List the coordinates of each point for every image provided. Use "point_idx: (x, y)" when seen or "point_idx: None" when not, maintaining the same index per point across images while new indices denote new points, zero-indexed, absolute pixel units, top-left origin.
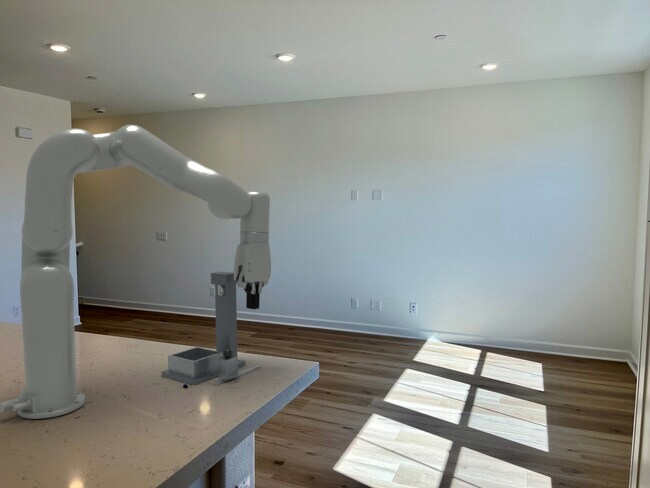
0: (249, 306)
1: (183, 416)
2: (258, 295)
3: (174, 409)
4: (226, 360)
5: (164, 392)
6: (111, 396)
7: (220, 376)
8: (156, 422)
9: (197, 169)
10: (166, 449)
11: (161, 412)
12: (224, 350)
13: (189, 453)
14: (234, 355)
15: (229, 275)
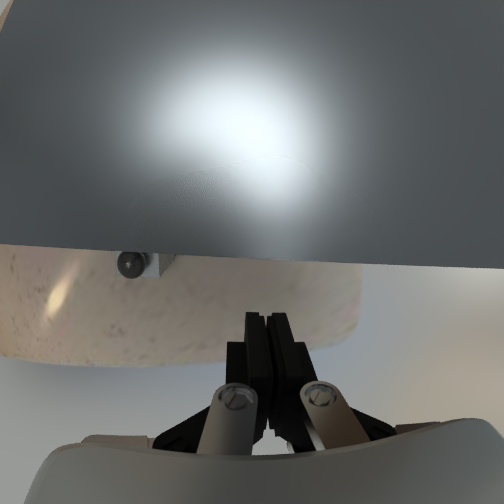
0: (245, 339)
1: (28, 291)
2: (274, 428)
3: (28, 262)
4: (117, 274)
5: None
6: None
7: None
8: (6, 273)
9: None
10: (2, 328)
11: (16, 253)
12: (118, 262)
13: (15, 352)
14: (157, 265)
15: (126, 233)
